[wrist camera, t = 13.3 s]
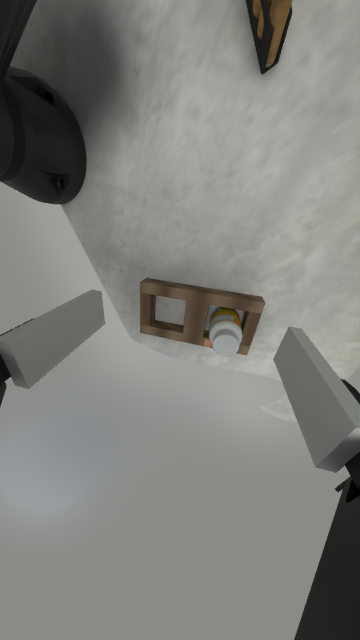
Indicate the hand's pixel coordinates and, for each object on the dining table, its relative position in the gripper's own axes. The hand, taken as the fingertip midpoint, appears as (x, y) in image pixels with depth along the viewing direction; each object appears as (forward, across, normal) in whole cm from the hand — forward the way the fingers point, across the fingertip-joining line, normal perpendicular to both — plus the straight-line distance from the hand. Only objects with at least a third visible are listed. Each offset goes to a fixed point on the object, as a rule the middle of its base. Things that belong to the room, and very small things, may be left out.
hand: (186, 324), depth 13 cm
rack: (+22, 0, -10) cm, 24 cm away
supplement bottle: (+22, +5, -10) cm, 25 cm away
